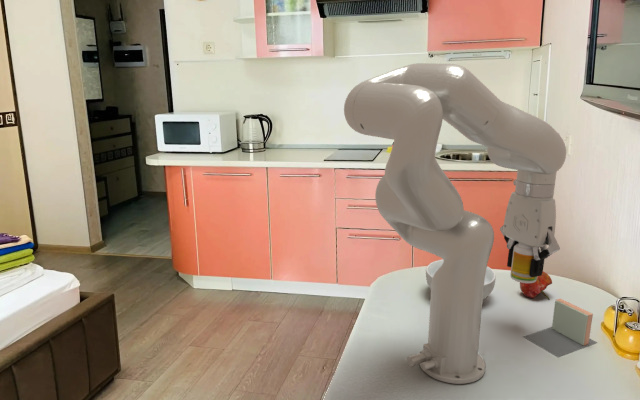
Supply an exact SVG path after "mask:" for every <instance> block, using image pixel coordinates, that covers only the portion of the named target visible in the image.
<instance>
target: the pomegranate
mask: <svg viewBox="0 0 640 400" xmlns="http://www.w3.org/2000/svg"><path fill="white" fill-rule="evenodd" d="M552 284H553V281H552V278H551V276H550V275H549V274H548V273H547V272H545V271H543V272H542V275H541V276H537V280H536V282H534V283H520V282H519V288H520V291H521V292H522V294H523V295H524V296H525V297H527V298H528V299H529V298H530V299H535V298H536V297H537V296H538V295H539V294H541V293H542V294H543V296H544V297H546V298H547V299H548V300H551V299H550V298H549V297H548V295H546V294H545V292H544V291H546V290H547V287H548V286H550V285H552Z"/></svg>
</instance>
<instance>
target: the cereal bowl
mask: <svg viewBox="0 0 640 400" xmlns="http://www.w3.org/2000/svg"><path fill="white" fill-rule="evenodd" d="M443 262H444V260H443V259H442V258H441V259H438V260H434V261H432V262H430V263H429V264H428V265H427V267H426V269H425V278H426V284H427V285H428V287H429V290H431V283H432V278H433V276H434V274H435V272H436V271H437V270H438V269H439V268H440V267H441V266H442V264H443ZM495 285H496V272H495V271H494V270H493V269H492V268H491V267H490V266H488V265H487V268H486V273H485V280H484V289H483V300H484V299H487V297H488V296H489V295H491V293H492V291H493V290H494V288H495Z"/></svg>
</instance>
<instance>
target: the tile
mask: <svg viewBox="0 0 640 400" xmlns="http://www.w3.org/2000/svg"><path fill="white" fill-rule="evenodd" d="M593 316H594V314H593V312H590V311H588V310H585V309H584V308H581V307H580V306H577V305H575V304H573V303H570V301H566V300H564V299H562V298H557V299H555V302H554V309H553V316H552V323H551V327H552V329H553V330H555V331H557V332H559V333H561V334H563V335H565V336H566V337H568V338H570V339H572V340H574V341H576V342H578V343H579V344H581V345H584V346H585V345H587V344H589V338H590V336H591V330H592V323H593Z"/></svg>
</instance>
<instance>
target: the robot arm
mask: <svg viewBox="0 0 640 400" xmlns="http://www.w3.org/2000/svg"><path fill="white" fill-rule="evenodd" d="M343 107H344V108H343V114H344V117H345V121H346V123H347V125H348V126H349V128H351V129H352V130H353V131H354V132H357V133H359V134H361V135H363V136H371V137H375V138H382V139H386V140H393V143H392V147H391V151H390V155H389V156H388V157H389V158H388V160H387V162H386V165H385V168H384V175H383V176H381V178H380V179H379V181H378V182H377V185H376V189H375V197H374V198H375V204H376V208H377V210H378V212H379V215H380V216H381V217H382V218H383V219H384V220H385V221H386V223H388V225H390V227H391V228H392V229H393V230H394V231H395V232H396V234H398V235H399V236H400V238H402V239H403V241H405V242H406V243H407V244H408V245H409V246H411V247H414V248H416V249H418V250H420V251H424V252H426V253H429V254H432V255H435V256H436V257H438V258H440V259H441V260H442V259H443V260H444V262H443V264H442V266H441V267H440V268H439V269H438V270H437V271H436V272H435V274H434V276H433V278H432V283H431V289H430V300H429V301H430V302H429V318H428V320H429V322H428V336H427V337H428V338H427V340H428V341H427V343H424V344H423V348H422V349H423V350H421V351H420V352H419V353H418V354H416V353H415V354H413V355H409V356H407V358H406V363H407V364H408V366H409V367H416V366H418V365H419V366H420V368H421V370H422V371H423V372H424V373H425V374H427V375H428V376H429V377H431V378H433V379H435V380H438V381H440V382H444V383H446V384H447V383H448V384H454V385H455V384H456V385H457V384H458V385H461V384H462V385H463V384H471V383H474V382H476V381H478V380H480V379H481V378H483V376H484V375H485V372H486V362H485V360H484V359H483V357H482V355H480V354H479V346H480V345H479V344H480V336H481V335H480V332H481V323H482V322H481V321H482V311H483V300H484V299H483V289H484V280H485V273H486V268H487V266H488V263H489V261H490V255H491V252H492V249H493V245H494V242H495V241H494V240H495V231H494V228H493V225H491V223H490V222H489V221H488V220H487V219H486V218H485V217H483V216H481V215H480V214H478V213H475V212H471V211H469V210H466V209H465V210H464V203H463V200H462V196H461V195H460V194H459V191H458V190H457V188H456V187H455V186H454V184H453V183H452V181H451V180H450V179H449V177H448V176H447V174H446V173H445V172H444V170H443V168H442V167H441V166H440V164H439V162H438V161H437V159H436V149H437V146H438V141H439V136H440V132H441V129H442V124H443V121H444V122H446V123H448V124H449V125H450V126H452V127H453V128H454V129H455V130H456V131H458V132H459V133H460V134H462V135H463V136H464V137H465V138H466V139H468V140H469V141H471V142H473V143H477V144H479V145H482V146H485V147H487V156H488V159H489V160H490V161H491V162H492V163H493V164H494V165H496V166H497V167H501V168H504V169H508V170H514V171H515V170H517V172H516V178H515V179H514V180H513V182H512V183H513V186H515V188H514V189H515V191H511V194H510V196H509V199H508V202H507V205H506V206H507V207H506V210H505V216H504V220H503V224H502V226H501V227H500V228H499V231H500V232H501V235H502V236H503V240H504V241H505V243H506V248H507V249H508V255H507V263H506V264H507V265H506V266H507V267H508V268H511V265H512V257H513V249H514V246H515V245H516V244H518V243H519V242H520V243H523V244H526V245H528V246H531V247H533V254H534V259H532V260H531V265H530V273H529V276H530V277H537V276H541V275H542V272H544V265H545V259H546V260H547V259H549V257H550V256H551V255H553V254H555V253H556V252H559V251H560V250H561V248H560V245H559V243H558V241H557V239H556V237H555V233H556V225H557V224H556V222H557V220H556V219H557V209H556V207H557V205H556V199H555V198H554V194H555V186H556V179H557V172H558V171H559V170H560V169H561V168H562V167H563V165H564V163H565V161H566V158H567V148H566V147H567V146H566V144H565V141H564V139H563V137H562V136H561V135H560V133H559V132H558V131H557V130H556V129H555V128H553V126H552V125H550V124H549V123H548V122H546V121H545V120H543V119H541V118H539V117H537V116H535V115H532V114H531V113H529V112H526V111H524V110H522V109H520V108H518V107H516V106H514V105H511V104H509V103H506V102H504V101H503V100H501V99H500V98H498V97H497V95H495V93H493V92H492V91H491V90H490V88H488V87H487V86H486V85H485V84H484V83H483V82H482V81H481V80H480V79H478V77H477V76H476V75H474V73H472V72H471V71H470V70H469V69H467V68H466V67H464V66H462V65H460V64H454V63H432V62H431V63H429V62H428V63H423V62H421V63H420V62H419V63H416V62H415V63H411V64H408V65H404V66H401V67H399V68H395V69H393V70H390V71H386V72H385V73H382V74H380V75H377V76H375V77H372V78H369V79H366V80H364V81H362V82H360V83H358V84H357V85H355V86H354V87H353V88H352V89H350V92H349V93H348V94H347V96H346V98H345V100H344V106H343ZM547 246H548V247H547ZM539 249H540V251H539Z"/></svg>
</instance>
